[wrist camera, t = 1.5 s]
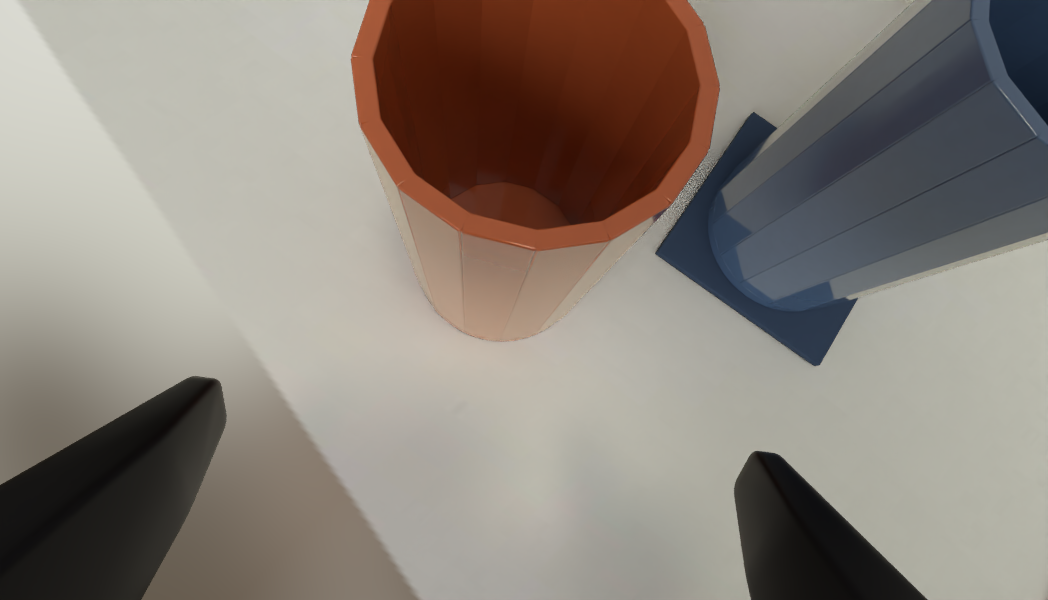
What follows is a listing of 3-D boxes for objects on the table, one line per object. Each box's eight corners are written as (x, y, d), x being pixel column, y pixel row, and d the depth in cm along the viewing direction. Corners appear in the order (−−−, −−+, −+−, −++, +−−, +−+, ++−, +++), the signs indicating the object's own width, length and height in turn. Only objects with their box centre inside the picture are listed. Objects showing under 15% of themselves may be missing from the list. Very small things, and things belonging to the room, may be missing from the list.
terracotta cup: (521, 376, 22) (589, 324, 10) (381, 274, 23) (272, 97, 10) (615, 242, 24) (780, 47, 11) (483, 149, 24) (499, -145, 12)
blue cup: (814, 345, 23) (1221, 261, 11) (677, 248, 24) (917, 55, 11) (888, 218, 25) (1322, 14, 12) (758, 128, 25) (1052, -163, 12)
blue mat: (814, 366, 24) (819, 365, 23) (654, 254, 24) (658, 251, 24) (898, 219, 25) (905, 216, 25) (749, 116, 26) (753, 111, 25)
